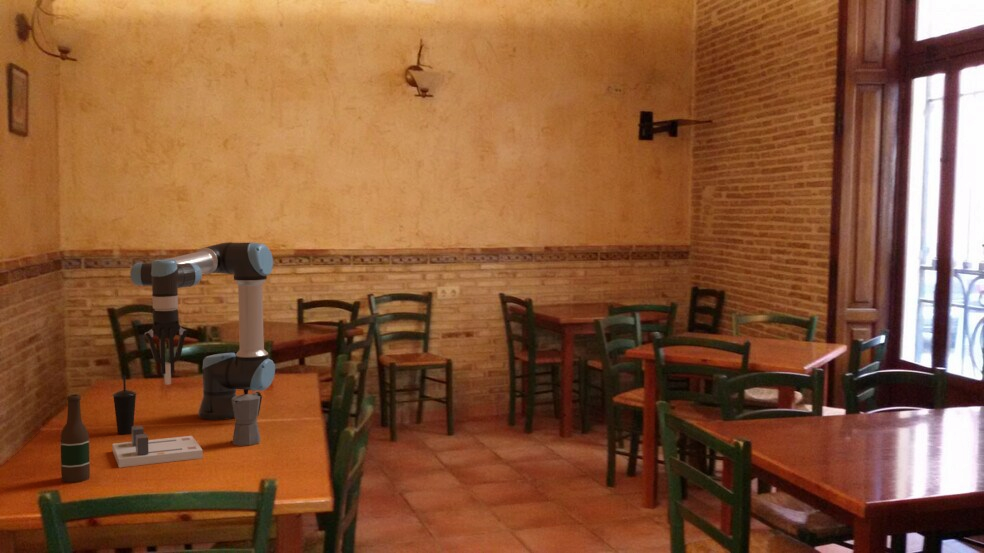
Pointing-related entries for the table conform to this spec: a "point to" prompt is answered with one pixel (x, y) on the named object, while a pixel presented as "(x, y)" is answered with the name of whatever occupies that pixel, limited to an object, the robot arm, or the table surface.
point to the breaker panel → (158, 451)
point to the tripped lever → (142, 444)
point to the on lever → (136, 433)
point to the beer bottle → (74, 445)
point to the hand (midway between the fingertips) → (167, 383)
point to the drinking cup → (124, 409)
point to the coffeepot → (246, 418)
